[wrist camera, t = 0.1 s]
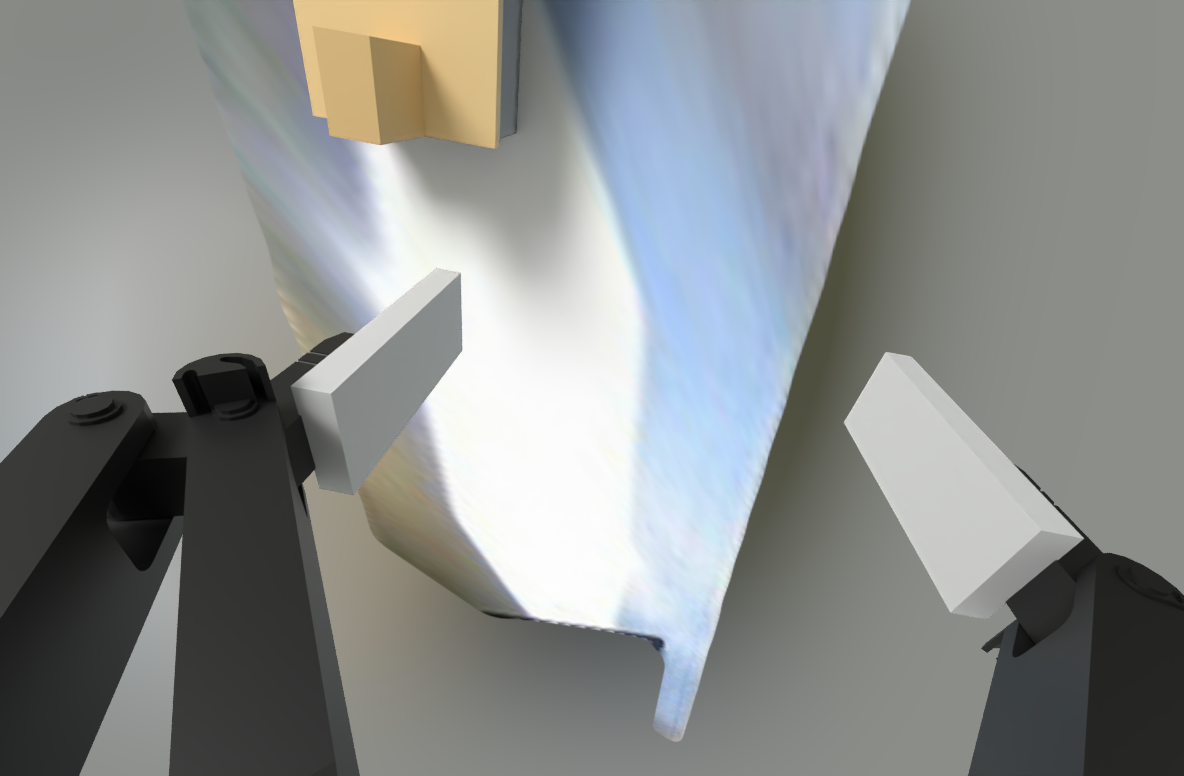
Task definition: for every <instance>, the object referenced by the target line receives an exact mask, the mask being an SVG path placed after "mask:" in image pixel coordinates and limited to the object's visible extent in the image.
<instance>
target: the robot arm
mask: <svg viewBox="0 0 1184 776" xmlns="http://www.w3.org/2000/svg"><path fill="white" fill-rule="evenodd" d="M461 351H462V313H461V273H459V272H453V271H448V270H443V269H437V268H436V269H435V270H434V271H432V272H431V273H430V274H429V275H427V276H426V277H425V278H424V279H423V280H421V281H420V282H419V283H418V284H416V285H415V286H414V287H413V288H411V289H410V290H409V291H408V292H406V293H405V294H404V295H403V296H401V297H400V298H399V299H398V300H397V301H395V302H394V303H393V304H392V305H390V306H389V307H388V308H387V309H385V310H384V311H383V312H382V313H380V314H379V315H378V316H377V317H375V318H374V319H373V320H372V321H371V322H369V323H368V324H367V325H366V326H364V327H363V328H362V329H361V330H359V331H358V332H357V333H356V334H352V333H346V332H344V333H341V334H339V335H336V336H333V337H331V338H328V339H326V340H324V341H322V342H321V343H320V344H318V345H317V346H316V347H314V348H313V349H312V350H310V353H306V354H305V355H304V356H302V357H301V358H300V359H299V361H298V362H295V363H293V364H292V365H291V366H289V367H288V368H286V369H285V370H284V371H282V372H281V373H280V374H278V375H277V376H276V377H274V378H273V379H272V380H270V379H269V375H268V373H267V369H266V366H265V364H264V363H263V361H262V360H261V359H260V358H257V357H255V356H253V355H249V354H241V353H231V354H218V355H214V356H209V357H205V358H201V359H199V360H196V361H194V362H191V363H189V364H187V365H185V366H184V367H183V368H181V369H180V370H178V371H177V372H176V374H175V375H174V377H173V379H172V381H173V383H174V385H175V387H176V389H177V392H178V394H179V396H180V398H181V400H182V402H183V405H184V407H185V409H186V411H187V412H181V413H180V412H179V413H152V412H151V410H150V409H149V406H148V405H147V403H146V401H145V400H144V398H143V397H142V396H141V395H140V394H136V393H133V392H130V391H109V392H101V393H93V394H87V396H81V397H78V398H75V399H73V400H71V401H69V402H67V403H64V404H62V405H60V406H58V407H56V408H55V409H53V410H52V411H51V412H49V413H48V414H47V415H45V416H44V417H43V418H42V419H41V420H40V421H39V423H38V424H37V425H36V426H35V427H34V428H33V429H32V430H31V431H30V432H29V433H28V434H27V435H26V436H25V438H24V439H23V440H22V441H21V442H20V443H19V444H18V445H17V446H16V447H15V448H14V449H13V450H12V451H11V453H10V454H9V455H8V456H7V457H6V458H5V459H4V460H3V461H2V462H1V463H0V776H79V774H80V772H81V770H82V767H83V765H84V763H85V760H86V758H87V756H88V753H89V751H90V749H91V747H92V744H93V742H94V740H95V737H96V735H97V733H98V730H99V728H100V725H101V723H102V721H103V719H104V716H105V714H106V712H107V709H108V707H109V705H110V702H111V700H112V698H113V695H114V693H115V690H116V688H117V686H118V684H119V681H120V679H121V676H122V674H123V672H124V669H125V667H126V665H127V662H128V660H129V658H130V656H131V653H132V651H133V649H134V646H135V644H136V642H137V639H138V637H139V635H140V632H141V630H142V627H143V625H144V623H145V620H146V618H147V616H148V614H149V611H150V609H151V606H152V604H153V601H154V600H155V597H156V595H157V592H158V590H159V588H160V585H161V583H162V581H163V579H164V576H165V574H166V572H167V569H168V567H169V565H170V562H171V560H172V558H173V555H174V553H175V551H176V548H177V546H178V544H179V541H180V539H181V537H182V534H183V540H182V557H181V574H180V592H179V609H178V627H177V644H176V645H177V646H176V662H175V679H174V697H173V715H172V733H171V750H170V768H169V776H360V775H359V769H358V764H357V759H356V754H355V749H354V743H353V738H352V733H351V729H350V723H349V718H348V713H347V707H346V702H345V697H344V691H343V686H342V681H341V676H340V671H339V666H338V660H337V656H336V650H335V645H334V640H333V634H332V629H331V624H330V619H329V614H328V609H327V603H326V598H325V593H324V588H323V583H322V578H321V572H320V567H319V562H318V557H317V551H316V546H315V541H314V536H313V531H312V525H311V520H310V515H309V510H308V504H307V500H306V494H305V490H304V487H303V484H302V483H303V482H304V481H305V479H306V478H307V477H308V476H309V475H310V474H311V473H312V472H313V471H314V470H315V473H316V477H317V480H318V484H319V488H320V489H324V490H330V491H335V492H340V493H345V494H350V495H354V494H355V493H356V491H357V490H358V489H359V487H360V486H361V485H362V483H363V482H364V481H365V479H366V478H367V477H368V475H369V474H370V473H371V471H372V470H373V469H374V467H375V466H376V465H377V463H378V462H379V461H380V459H381V458H382V457H383V455H384V454H385V453H386V451H387V450H388V449H389V447H390V446H391V445H392V443H393V442H394V441H395V439H396V438H397V437H398V435H399V434H400V433H401V431H402V430H403V429H404V427H405V426H406V425H407V423H408V422H409V421H410V419H411V418H412V417H413V415H414V414H415V413H416V411H417V410H418V409H419V407H420V406H421V405H422V403H423V402H424V401H425V399H426V398H427V397H428V395H429V394H430V393H431V391H432V390H433V389H434V387H435V386H436V385H437V383H438V382H439V381H440V379H441V378H442V377H443V375H444V374H445V373H446V371H447V370H448V369H449V367H450V366H451V365H452V363H453V362H454V361H455V359H456V358H457V357H458V355H459V354H460V353H461ZM844 423H845V425H846V427H847V429H848V430H849V432H850V433H851V436H852V438H853V439H854V441H855V443H856V445H857V446H858V448H859V450H860V452H861V454H862V456H863V457H864V459H865V461H866V463H867V464H868V466H869V468H870V470H871V472H872V473H873V475H874V477H875V479H876V480H877V482H878V484H879V486H880V488H881V489H882V491H883V493H884V495H885V497H886V498H887V500H888V502H889V504H890V505H891V507H892V509H893V511H894V513H895V514H896V516H897V518H898V520H899V522H900V523H901V525H902V527H903V529H904V530H905V532H906V534H907V536H908V538H909V539H910V541H911V543H912V545H913V546H914V548H915V550H916V552H917V554H918V556H919V557H920V559H921V561H922V563H923V564H924V566H925V568H926V570H927V571H928V573H929V575H930V577H931V579H932V581H933V582H934V584H935V586H936V588H937V589H938V591H939V593H940V595H941V596H942V598H943V600H944V602H945V604H946V605H947V607H948V609H949V611H950V612H951V613H955V614H961V615H966V616H971V617H976V618H981V619H988V618H989V617H990V616H991V615H992V614H994V613H995V612H996V611H997V610H998V609H1000V608H1001V607H1002V606H1003V605H1004V604H1006V603H1007V605H1008V606H1009V608H1010V609H1011V611H1012V612H1013V614H1014V615H1015V617H1016V618H1017V619H1016V620H1015V621H1014V622H1013V623H1011V624H1010V625H1008V626H1007V627H1006V628H1005V629H1003V630H1002V631H1001V632H999V633H998V634H997V635H996V636H994V637H993V638H992V639H991V640H989V641H988V642H987V643H986V644H985V645H984V646H983V647H982V649H983V650H984V651H985V652H989V651H990V650H992V649H993V648H1000V651H999V655H998V657H997V658H996V659H997V663H996V667H995V671H994V675H993V678H992V682H991V686H990V691H989V695H988V699H987V702H986V706H985V710H984V714H983V718H982V722H981V726H980V730H979V734H978V738H977V742H976V746H975V750H974V754H973V758H972V762H971V766H970V770H969V774H968V776H1184V595H1183V594H1182V593H1181V592H1180V591H1179V590H1178V589H1177V588H1176V587H1174V586H1173V585H1172V584H1171V583H1169V582H1168V581H1167V580H1165V579H1164V578H1163V577H1162V576H1160V575H1159V574H1157V573H1155V572H1154V571H1152V570H1150V569H1149V568H1147V567H1145V566H1144V565H1142V564H1140V563H1137V562H1135V561H1133V560H1131V559H1129V558H1126V557H1124V556H1120V555H1116V554H1112V553H1102V552H1101V551H1100V550H1099V548H1098V547H1097V546H1095V544H1094V543H1093V542H1092V541H1091V540H1090V539H1089V538H1088V537H1087V536H1086V535H1085V534H1084V533H1083V532H1082V531H1081V530H1080V529H1079V528H1078V527H1077V526H1076V525H1075V524H1074V522H1073V521H1072V520H1071V519H1070V518H1069V517H1068V516H1067V515H1066V514H1065V513H1064V512H1063V511H1062V510H1061V509H1060V508H1059V507H1058V506H1055V505H1054V502H1053V501H1052V500H1051V499H1050V498H1049V497H1048V495H1047V494H1046V493H1045V492H1042V491H1040V489H1041V488H1040V487H1039V486H1038V485H1037V484H1036V483H1035V482H1034V481H1033V480H1032V479H1031V478H1030V477H1029V476H1028V475H1027V474H1026V473H1025V472H1024V471H1023V470H1022V469H1020V468H1019V467H1018V466H1016V465H1015V464H1013V463H1012V462H1011V461H1010V460H1009V459H1008V458H1007V457H1006V456H1005V455H1004V454H1003V453H1002V452H1001V451H1000V450H999V448H998V447H997V446H996V445H995V444H994V443H993V442H992V441H991V440H990V439H989V438H988V437H987V436H986V435H985V434H984V433H983V432H982V431H981V430H980V429H979V427H978V426H977V425H976V424H975V423H974V422H973V421H972V420H971V419H970V418H969V417H968V416H967V415H966V414H965V413H964V412H963V411H962V410H961V409H960V407H958V405H957V404H956V403H955V402H954V401H953V400H952V399H951V398H950V397H949V396H948V395H947V394H946V393H945V392H944V391H943V390H942V389H941V388H940V386H939V385H938V384H937V383H936V382H935V381H934V380H933V379H932V378H931V377H930V376H929V375H928V374H927V373H926V372H925V371H924V370H923V369H922V367H921V366H919V364H918V363H917V362H916V361H915V360H914V359H913V358H912V357H911V356H905V355H899V354H894V353H889V352H886V353H885V354H884V356H883V358H882V360H881V361H880V363H879V364H878V366H877V368H876V369H875V371H874V373H873V375H872V376H871V378H870V380H869V381H868V383H867V385H866V386H865V388H864V390H863V392H862V393H861V395H860V396H859V398H858V400H857V401H856V403H855V405H854V407H853V408H852V410H851V412H850V413H849V415H848V417H847V418H846V420H845V422H844Z"/></svg>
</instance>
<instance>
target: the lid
mask: <svg viewBox="0 0 1184 776" xmlns="http://www.w3.org/2000/svg"><path fill="white" fill-rule="evenodd" d="M293 3H294V9H295V14H296V20H297V26H298V31H299V37H300V43H301V49H302V54H303V60H304V66H305V72H306V77H307V83H308V89H309V94H310V100H311V106H312V112H313V116H318V117H323V118H327V121H328V127H329V133H330V136H334V137H339V138H345V139H350V140H356V141H361V142H367V143H372V144H377V145H383V144H388V143H393V142H398V141H403V140H408V139H413V138H418V137H423V136H427V137H433V138H438V139H444V140H449V141H454V142H460V143H465V144H471V145H476V146H482V147H487V148H493V149H496V148H499V142H500V106H501V70H502V33H503V0H293Z"/></svg>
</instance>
